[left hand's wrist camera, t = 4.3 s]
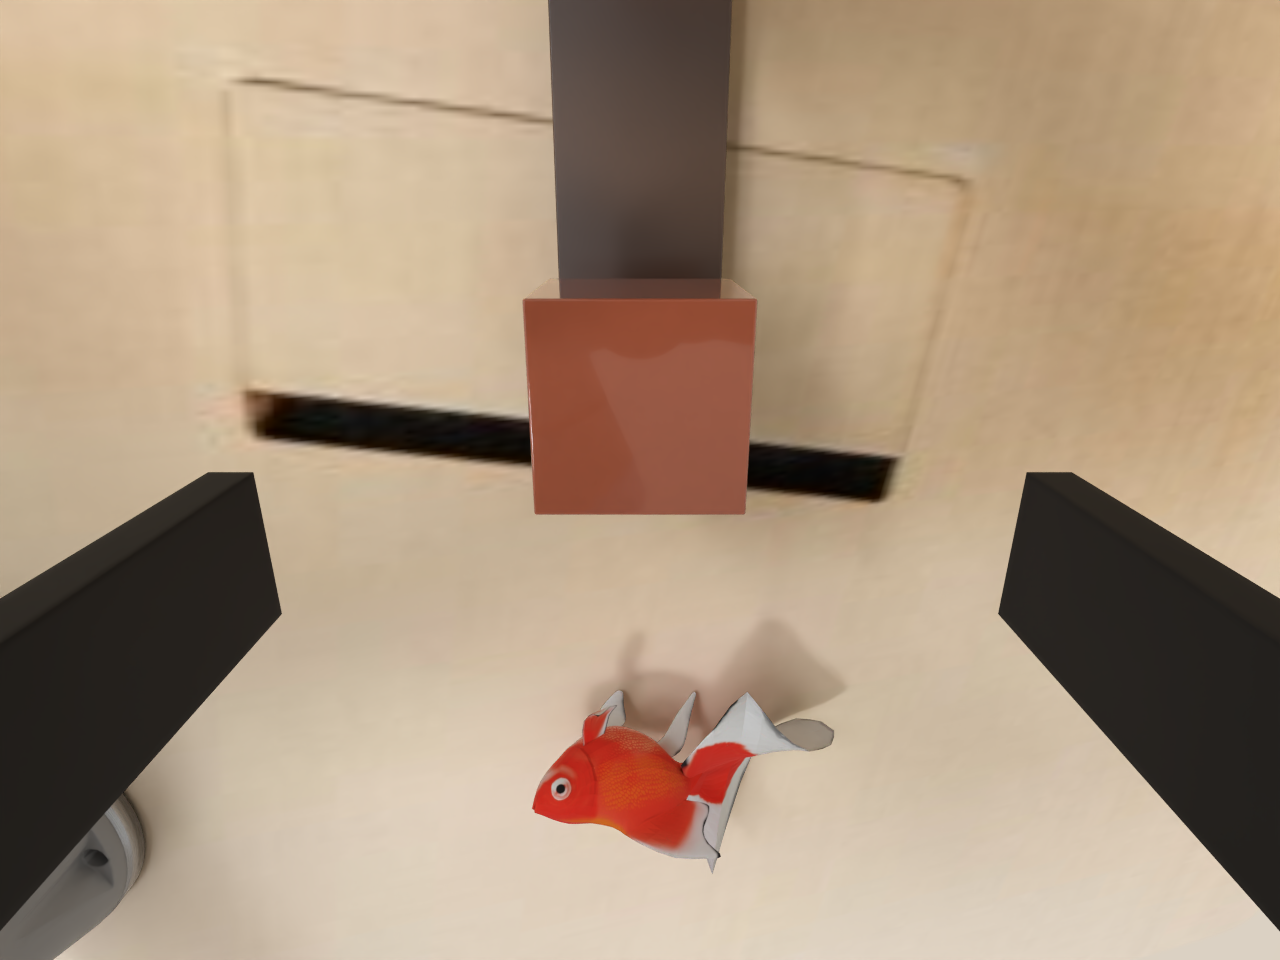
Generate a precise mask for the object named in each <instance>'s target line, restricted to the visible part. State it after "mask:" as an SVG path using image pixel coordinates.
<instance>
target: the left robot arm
mask: <svg viewBox="0 0 1280 960" xmlns="http://www.w3.org/2000/svg"><path fill="white" fill-rule="evenodd" d="M281 614H282V613H281V608H280V603H279V598H278V593H277V588H276V583H275V578H274V573H273V568H272V563H271V558H270V553H269V548H268V543H267V538H266V533H265V528H264V523H263V518H262V513H261V508H260V503H259V498H258V493H257V488H256V484H255V479H254V474H253V472H208V473H206V474H205V475H203V476H201V477H200V478H198V479H196V480H195V481H193V482H192V483H190V484H188V485H187V486H185V487H183V488H182V489H180V490H178V491H177V492H175V493H173V494H172V495H170V496H168V497H167V498H165V499H164V500H162V501H160V502H159V503H157V504H155V505H154V506H152V507H150V508H149V509H147V510H145V511H144V512H142V513H140V514H139V515H137V516H136V517H134V518H132V519H131V520H129V521H127V522H126V523H124V524H122V525H121V526H119V527H117V528H116V529H114V530H112V531H111V532H109V533H108V534H106V535H104V536H103V537H101V538H99V539H98V540H96V541H94V542H93V543H91V544H89V545H88V546H86V547H84V548H83V549H81V550H80V551H78V552H76V553H75V554H73V555H71V556H70V557H68V558H66V559H65V560H63V561H61V562H60V563H58V564H56V565H55V566H53V567H52V568H50V569H48V570H47V571H45V572H43V573H42V574H40V575H38V576H37V577H35V578H33V579H32V580H30V581H28V582H27V583H25V584H24V585H22V586H20V587H19V588H17V589H15V590H14V591H12V592H10V593H9V594H7V595H5V596H4V597H2V598H0V960H53V959H55V958H56V957H57V956H58V955H60V954H61V953H62V952H64V951H65V950H66V949H67V948H69V947H70V946H71V945H73V944H74V943H75V942H76V941H78V940H79V939H80V938H82V937H83V936H84V935H85V934H87V933H88V932H89V931H91V930H92V929H93V928H94V927H96V926H97V925H98V924H99V923H100V922H101V921H102V920H103V919H104V918H106V917H107V916H108V915H109V914H110V913H111V912H112V911H113V910H114V909H115V908H116V906H117V905H118V904H119V903H120V901H121V900H122V899H123V897H124V896H125V895H126V893H127V892H128V891H129V889H130V888H131V887H132V885H133V884H134V883H135V881H136V879H137V878H138V876H139V874H140V871H141V869H142V865H143V861H144V854H145V843H144V836H143V832H142V828H141V825H140V822H139V820H138V818H137V815H136V813H135V811H134V810H133V808H132V806H131V804H130V803H129V801H128V800H127V799H126V797H125V796H124V794H123V792H124V791H125V790H126V789H127V788H128V787H129V785H130V784H131V783H132V782H133V781H134V780H135V779H136V778H137V776H138V775H139V774H140V773H141V772H142V771H143V770H144V769H145V767H146V766H147V765H148V764H149V763H150V762H151V761H152V760H153V758H154V757H155V756H156V755H157V754H158V753H159V752H160V751H161V749H162V748H163V747H164V746H165V745H166V744H167V743H168V741H169V740H170V739H171V738H172V737H173V736H174V735H175V734H176V732H177V731H178V730H179V729H180V728H181V727H182V726H183V725H184V723H185V722H186V721H187V720H188V719H189V718H190V717H191V716H192V714H193V713H194V712H195V711H196V710H197V709H198V708H199V707H200V705H201V704H202V703H203V702H204V701H205V700H206V699H207V698H208V696H209V695H210V694H211V693H212V692H213V691H214V690H215V689H216V687H217V686H218V685H219V684H220V683H221V682H222V681H223V680H224V678H225V677H226V676H227V675H228V674H229V673H230V672H231V670H232V669H233V668H234V667H235V666H236V665H237V664H238V663H239V661H240V660H241V659H242V658H243V657H244V656H245V655H246V654H247V652H248V651H249V650H250V649H251V648H252V647H253V646H254V645H255V643H256V642H257V641H258V640H259V639H260V638H261V637H262V636H263V634H264V633H265V632H266V631H267V630H268V629H269V628H270V627H271V625H272V624H273V623H274V622H275V621H276V620H277V619H278V618H279V616H280V615H281ZM998 614H999V615H1000V616H1001V618H1002V619H1003V620H1004V621H1005V622H1006V623H1007V624H1008V625H1009V627H1010V628H1011V629H1012V630H1013V631H1014V632H1015V633H1016V634H1017V636H1018V637H1019V638H1020V639H1021V640H1022V641H1023V642H1024V643H1025V645H1026V646H1027V647H1028V648H1029V649H1030V650H1031V651H1032V652H1033V654H1034V655H1035V656H1036V657H1037V658H1038V659H1039V660H1040V661H1041V663H1042V664H1043V665H1044V666H1045V667H1046V668H1047V669H1048V670H1049V672H1050V673H1051V674H1052V675H1053V676H1054V677H1055V678H1056V680H1057V681H1058V682H1059V683H1060V684H1061V685H1062V686H1063V687H1064V689H1065V690H1066V691H1067V692H1068V693H1069V694H1070V695H1071V696H1072V698H1073V699H1074V700H1075V701H1076V702H1077V703H1078V704H1079V705H1080V707H1081V708H1082V709H1083V710H1084V711H1085V712H1086V713H1087V714H1088V716H1089V717H1090V718H1091V719H1092V720H1093V721H1094V722H1095V723H1096V725H1097V726H1098V727H1099V728H1100V729H1101V730H1102V731H1103V732H1104V734H1105V735H1106V736H1107V737H1108V738H1109V739H1110V740H1111V741H1112V743H1113V744H1114V745H1115V746H1116V747H1117V748H1118V749H1119V751H1120V752H1121V753H1122V754H1123V755H1124V756H1125V757H1126V758H1127V760H1128V761H1129V762H1130V763H1131V764H1132V765H1133V766H1134V767H1135V769H1136V770H1137V771H1138V772H1139V773H1140V774H1141V775H1142V776H1143V778H1144V779H1145V780H1146V781H1147V782H1148V783H1149V784H1150V785H1151V787H1152V788H1153V789H1154V790H1155V791H1156V792H1157V793H1158V794H1159V796H1160V797H1161V798H1162V799H1163V800H1164V801H1165V802H1166V803H1167V805H1168V806H1169V807H1170V808H1171V809H1172V810H1173V811H1174V812H1175V814H1176V815H1177V816H1178V817H1179V818H1180V819H1181V820H1182V822H1183V823H1184V824H1185V825H1186V826H1187V827H1188V828H1189V829H1190V831H1191V832H1192V833H1193V834H1194V835H1195V836H1196V837H1197V838H1198V840H1199V841H1200V842H1201V843H1202V844H1203V845H1204V846H1205V847H1206V849H1207V850H1208V851H1209V852H1210V853H1211V854H1212V855H1213V856H1214V858H1215V859H1216V860H1217V861H1218V862H1219V863H1220V864H1221V865H1222V867H1223V868H1224V869H1225V870H1226V871H1227V872H1228V873H1229V874H1230V876H1231V877H1232V878H1233V879H1234V880H1235V881H1236V882H1237V883H1238V885H1239V886H1240V887H1241V888H1242V889H1243V890H1244V891H1245V893H1246V894H1247V895H1248V896H1249V897H1250V898H1251V899H1252V900H1253V902H1254V903H1255V904H1256V905H1257V906H1258V907H1259V908H1260V909H1261V911H1262V912H1263V913H1264V914H1265V915H1266V916H1267V917H1268V918H1269V920H1270V921H1271V922H1272V923H1273V924H1274V925H1275V926H1276V927H1277V929H1278V930H1279V931H1280V598H1278V597H1276V596H1275V595H1273V594H1271V593H1270V592H1268V591H1266V590H1265V589H1263V588H1261V587H1260V586H1258V585H1256V584H1255V583H1253V582H1252V581H1250V580H1248V579H1247V578H1245V577H1243V576H1242V575H1240V574H1238V573H1237V572H1235V571H1233V570H1232V569H1230V568H1228V567H1227V566H1225V565H1224V564H1222V563H1220V562H1219V561H1217V560H1215V559H1214V558H1212V557H1210V556H1209V555H1207V554H1205V553H1204V552H1202V551H1200V550H1199V549H1197V548H1196V547H1194V546H1192V545H1191V544H1189V543H1187V542H1186V541H1184V540H1182V539H1181V538H1179V537H1177V536H1176V535H1174V534H1172V533H1171V532H1169V531H1168V530H1166V529H1164V528H1163V527H1161V526H1159V525H1158V524H1156V523H1154V522H1153V521H1151V520H1149V519H1148V518H1146V517H1144V516H1143V515H1141V514H1140V513H1138V512H1136V511H1135V510H1133V509H1131V508H1130V507H1128V506H1126V505H1125V504H1123V503H1121V502H1120V501H1118V500H1116V499H1115V498H1113V497H1112V496H1110V495H1108V494H1107V493H1105V492H1103V491H1102V490H1100V489H1098V488H1097V487H1095V486H1093V485H1092V484H1090V483H1088V482H1087V481H1085V480H1084V479H1082V478H1080V477H1079V476H1077V475H1075V474H1074V473H1072V472H1027V474H1026V479H1025V484H1024V488H1023V493H1022V498H1021V503H1020V508H1019V513H1018V518H1017V523H1016V528H1015V533H1014V538H1013V543H1012V548H1011V553H1010V558H1009V563H1008V568H1007V573H1006V578H1005V583H1004V588H1003V593H1002V598H1001V603H1000V608H999V613H998Z"/></svg>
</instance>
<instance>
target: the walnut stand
mask: <svg viewBox="0 0 1280 960" xmlns="http://www.w3.org/2000/svg"><path fill="white" fill-rule="evenodd" d="M548 8H549V34H550V60H551V86H552V112H553V138H554V164H555V190H556V216H557V242H558V268H559V279H721V274H722V248H723V222H724V196H725V170H726V144H727V118H728V92H729V67H730V41H731V15H732V0H548Z"/></svg>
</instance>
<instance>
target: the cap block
mask: <svg viewBox="0 0 1280 960" xmlns="http://www.w3.org/2000/svg"><path fill="white" fill-rule="evenodd" d="M756 317H757V299H756V298H755V297H753V296H752V295H751V294H749V293H748V292H747V291H746V290H744V289H743V288H742V287H740V286H739V285H738V284H737V283H735V282H734V281H733V280H731V279H549V280H547V281H546V282H545V283H543V284H542V285H541V286H540V287H538V288H537V289H536V290H534V291H533V292H532V293H531V294H529V295H528V296H527V297H525V298H524V299H523V318H524V336H525V353H526V371H527V389H528V406H529V424H530V442H531V460H532V477H533V495H534V512H535V514H745V512H746V495H747V477H748V459H749V441H750V424H751V406H752V388H753V370H754V353H755V335H756Z"/></svg>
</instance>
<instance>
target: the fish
mask: <svg viewBox="0 0 1280 960" xmlns="http://www.w3.org/2000/svg"><path fill="white" fill-rule="evenodd" d="M695 696H696V693H695V692H693V693H692V694H691V695H690V697H689V698H688V700H687V701H686V702H685V704H684V705H683V706H682V708H681V709H680V710H679V712H678V713H677V715H676V716H675V718H674V720H673V722H672V724H671V725H670V727H669V729H668V731H667V732H666V734H665V735H664V737H663V738H662V739H661V740H660V741H658V742H655V741H654V740H653V739H651V738H650V737H648V736H646V735H644V734H643V733H641V732H638V731H636V730H633V729H631V728H627V727H623V726H622V725H623V724H624V722H625V720H626V716H625V710H624V702H623V692H622V691H619V690H618V691H616V692H615V693H614V694H613V695H612V696H611V697H610V698H609V699H608V700H607V701H606V702H605V704H604V705H603V706H602V708H601V709H600V711H598V712H595V713H593V714H591V715H589V716H588V718H587V719H586V720H585V721H584V724H583V737H581V738H580V739H579V740H578V741H576V742H575V743H574V744H573V745H572V746H570V747H569V748H568V749H567V750H566V751H565V752H564V753H563V754H562V755H561V756H560V758H559V759H558V760H557V761H556V762H555V763H554V764H553V765H552V766H551V768H550V769H549V770H548V771H547V772H546V774H545V775H544V777H543V779H542V780H541V782H540V784H539V786H538V789H537V791H536V795H535V798H534V802H533V807H532V809H533V810H534V811H535V813H537V814H540V815H543V816H546V817H548V818H551V819H553V820H556V821H559V822H563V823H568V824H582V823H594V824H601V825H606V826H610V827H613V828H615V829H617V830H619V831H621V832H622V833H623V834H625V835H626V836H628V837H630V838H631V839H633V840H635V841H637V842H638V843H640V844H642V845H644V846H646V847H648V848H650V849H652V850H655V851H657V852H659V853H662V854H665V855H668V856H671V857H674V858H686V859H707V861H708V864H709V866H710V869H711V872H712V874H713V870H714V867H715V863H716V860H717V858H719V857H721V856H720V853H719V849H720V846H721V843H722V839H723V836H724V832H725V829H726V825H727V822H728V819H729V816H730V813H731V810H732V807H733V804H734V801H735V798H736V794H737V791H738V788H739V785H740V782H741V780H742V777H743V775H744V773H745V770H746V768H747V765H748V763H749V761H750V758H751V757H752V756H756V755H761V754H766V753H771V752H777V751H787V750H802V751H814V750H819V749H823V748H825V747H827V746H829V745H831V743H832V741H833V738H834V730H832V729H831V728H829V727H828V726H827V725H825V724H824V723H823V722H821V721H815V720H808V719H793V720H790V721H787V722H784V723H781V724H779V725H777V726H774V725H773V723H772V722H771V721H770V719H769V718H768V717H767V715H766V714H765V713H764V712H763V710H762V709H761V708H760V707H759V705H758V704H757V703H756V702H755V701H754V699H753V698H752V697H751V696H750V695H749V693H748V692H746V693H745V694H744V695H743V696H742V697H740V698H739V699H738V700H737V701H736V702H735V703H733V704H732V705H731V706H730V707H729V709H728V710H727V712H726V713H725V714H724V716H723V717H722V718H721V720H720V721H719V723H718V724H717V725H716V727H715V728H714V729H713V730H712V731H711V732H710V733H709V735H708V736H707V737H706V738H705V739H704V740H703V741H702V742H701V743H700V744H699V745H698V746H697V747H696V749H695V750H694V751H693V752H692V753H691V754H690V755H689V757H688V758H687V759H686V760H685V761H684V762H683V763H679V762H677V761H675V760H674V759H673V758H672V757H673V756H675V755H676V754H677V753H678V752H680V750H681V749H682V747H683V745H684V742H685V739H686V735H687V730H688V725H689V720H690V715H691V711H692V707H693V704H694V700H695ZM686 799H687V800H686Z"/></svg>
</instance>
